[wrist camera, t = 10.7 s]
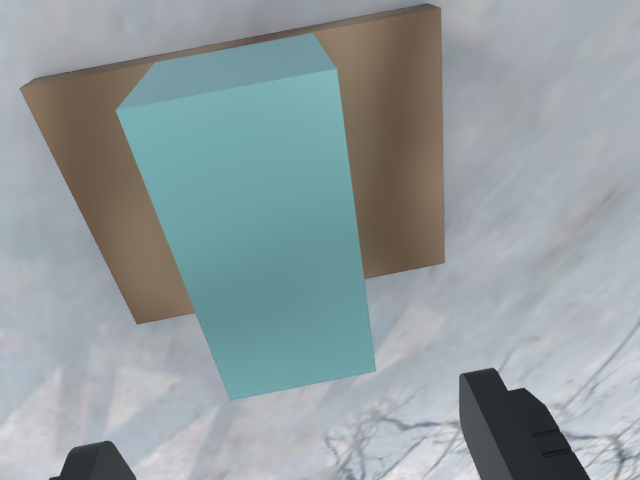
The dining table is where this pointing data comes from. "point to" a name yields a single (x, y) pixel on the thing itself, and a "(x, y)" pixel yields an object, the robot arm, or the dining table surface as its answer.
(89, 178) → the base plate
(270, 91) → the teal rectangular block
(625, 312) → the dining table surface
